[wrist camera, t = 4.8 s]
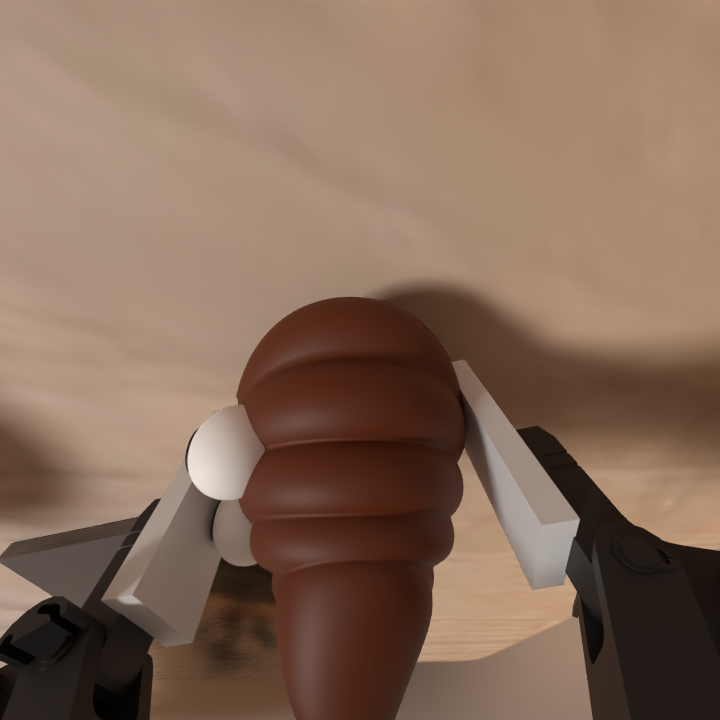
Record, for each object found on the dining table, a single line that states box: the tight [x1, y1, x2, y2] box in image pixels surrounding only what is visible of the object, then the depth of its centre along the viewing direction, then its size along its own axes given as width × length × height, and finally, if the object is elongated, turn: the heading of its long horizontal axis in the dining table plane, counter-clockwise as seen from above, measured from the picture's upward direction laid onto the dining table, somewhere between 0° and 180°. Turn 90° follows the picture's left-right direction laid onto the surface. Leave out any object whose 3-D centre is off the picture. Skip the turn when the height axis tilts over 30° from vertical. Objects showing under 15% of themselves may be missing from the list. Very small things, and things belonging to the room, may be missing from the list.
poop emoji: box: [185, 297, 466, 720], centre depth 9 cm, size 10×8×9 cm
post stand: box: [0, 517, 296, 720], centre depth 21 cm, size 20×20×7 cm
